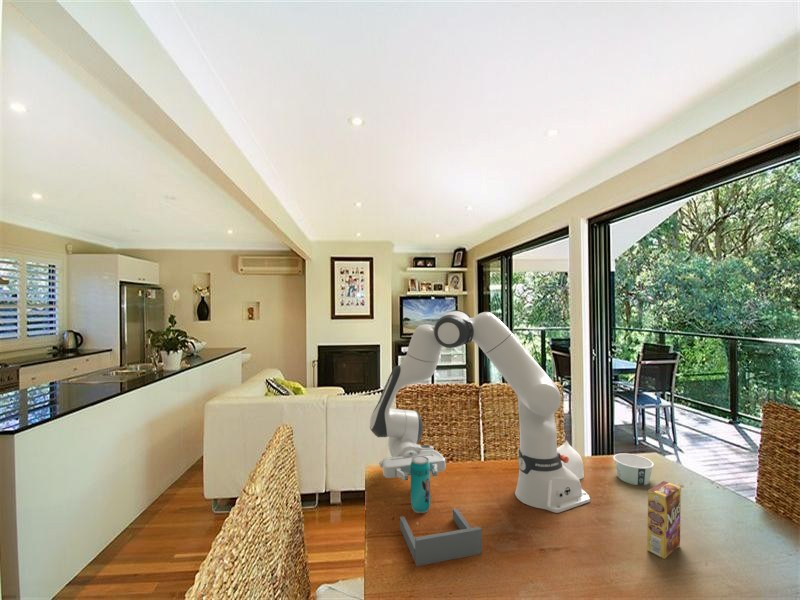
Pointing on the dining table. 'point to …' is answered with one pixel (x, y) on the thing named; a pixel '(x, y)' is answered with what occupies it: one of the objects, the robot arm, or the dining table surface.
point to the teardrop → (572, 460)
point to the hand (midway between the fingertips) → (420, 476)
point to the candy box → (663, 519)
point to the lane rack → (444, 542)
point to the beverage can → (420, 484)
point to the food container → (633, 468)
